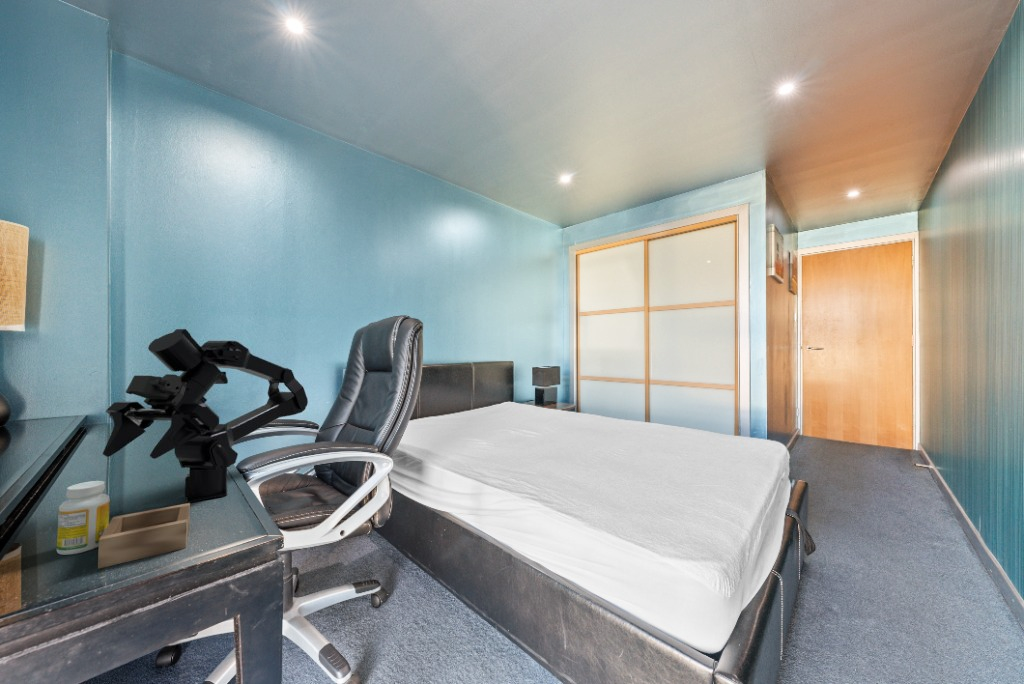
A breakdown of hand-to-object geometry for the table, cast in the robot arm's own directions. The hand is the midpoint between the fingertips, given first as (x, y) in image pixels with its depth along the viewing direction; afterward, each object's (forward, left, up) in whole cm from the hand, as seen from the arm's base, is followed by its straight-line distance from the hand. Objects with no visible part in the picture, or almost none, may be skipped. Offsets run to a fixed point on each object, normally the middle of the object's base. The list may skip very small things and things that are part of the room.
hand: (128, 456), depth 66 cm
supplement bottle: (+4, +4, -13) cm, 14 cm away
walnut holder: (-4, +10, -12) cm, 16 cm away
